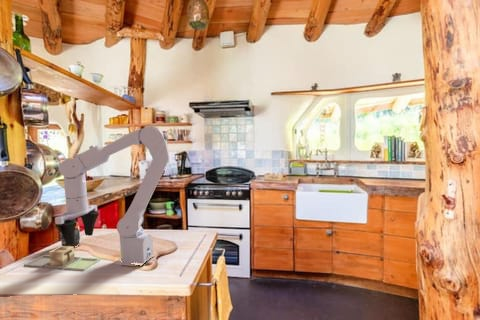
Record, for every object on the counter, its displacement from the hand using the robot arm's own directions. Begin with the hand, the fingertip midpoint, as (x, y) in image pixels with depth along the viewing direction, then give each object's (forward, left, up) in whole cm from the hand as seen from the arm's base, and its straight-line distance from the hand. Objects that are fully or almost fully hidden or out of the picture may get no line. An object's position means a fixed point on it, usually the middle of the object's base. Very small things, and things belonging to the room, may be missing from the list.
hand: (80, 239), depth 85 cm
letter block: (+7, 0, -8) cm, 11 cm away
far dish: (+15, 0, -8) cm, 17 cm away
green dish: (0, 0, -8) cm, 8 cm away
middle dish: (+7, 0, -8) cm, 11 cm away
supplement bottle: (+16, -13, -9) cm, 22 cm away
